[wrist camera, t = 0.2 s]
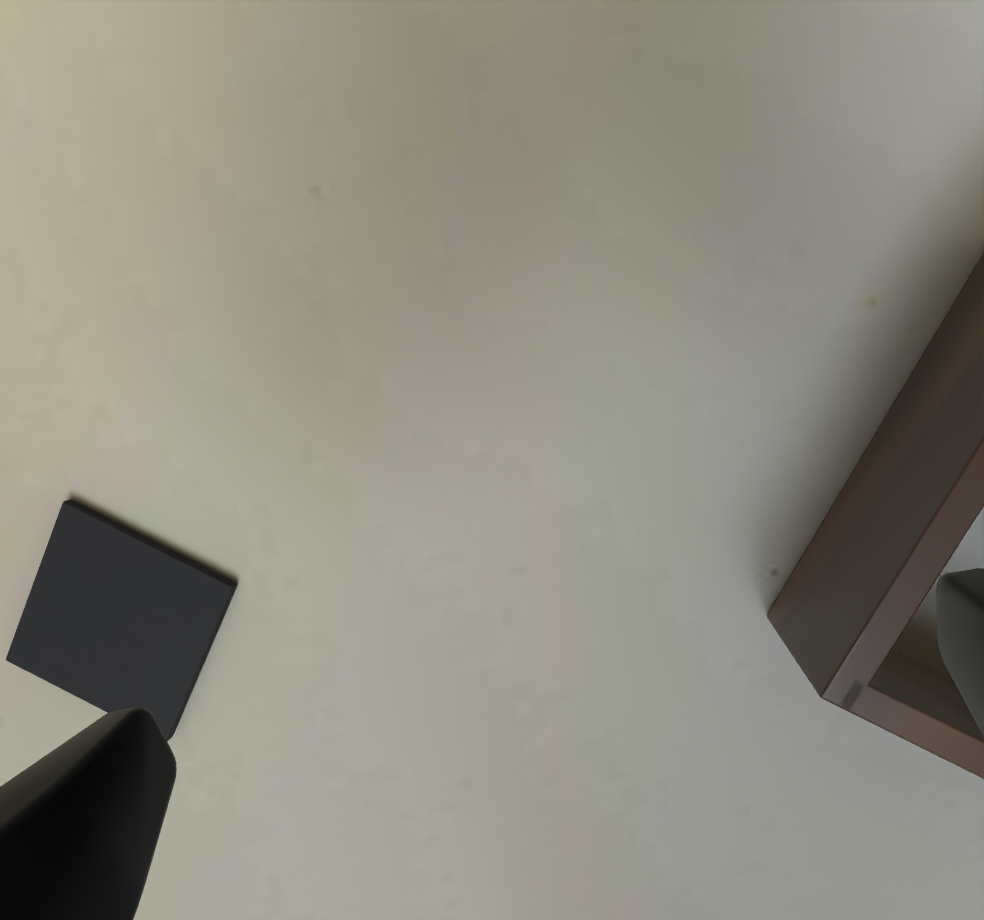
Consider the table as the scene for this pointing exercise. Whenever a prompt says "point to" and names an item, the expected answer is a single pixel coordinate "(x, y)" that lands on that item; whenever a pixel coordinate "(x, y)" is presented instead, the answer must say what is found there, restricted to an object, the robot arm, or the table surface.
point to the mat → (119, 617)
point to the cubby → (899, 548)
